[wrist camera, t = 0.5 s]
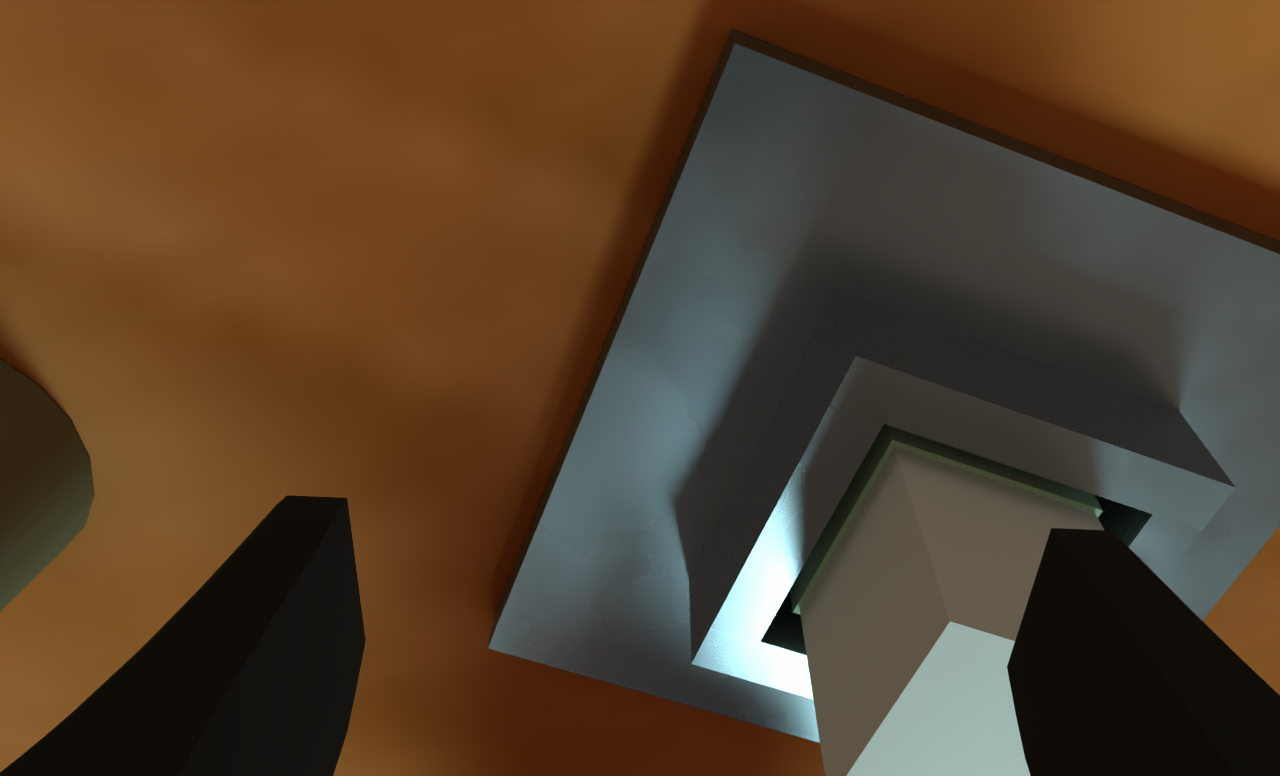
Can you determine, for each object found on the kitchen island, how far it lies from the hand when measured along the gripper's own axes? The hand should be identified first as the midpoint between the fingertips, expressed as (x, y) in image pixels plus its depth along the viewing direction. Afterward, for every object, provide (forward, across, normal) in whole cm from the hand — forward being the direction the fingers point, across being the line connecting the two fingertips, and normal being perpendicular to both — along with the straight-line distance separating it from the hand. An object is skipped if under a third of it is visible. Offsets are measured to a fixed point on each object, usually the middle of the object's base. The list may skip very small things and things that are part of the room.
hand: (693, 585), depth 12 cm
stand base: (+10, -5, +6) cm, 13 cm away
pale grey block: (+9, -5, +6) cm, 12 cm away
